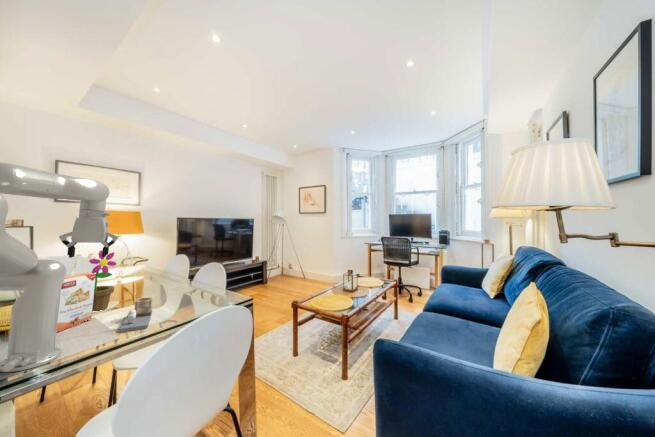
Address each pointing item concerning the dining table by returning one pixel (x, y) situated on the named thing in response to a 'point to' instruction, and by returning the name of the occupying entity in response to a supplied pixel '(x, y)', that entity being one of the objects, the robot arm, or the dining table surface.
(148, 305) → the sleeve
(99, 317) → the dining table surface
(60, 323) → the cracker box
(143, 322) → the pin board
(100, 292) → the flowerpot
